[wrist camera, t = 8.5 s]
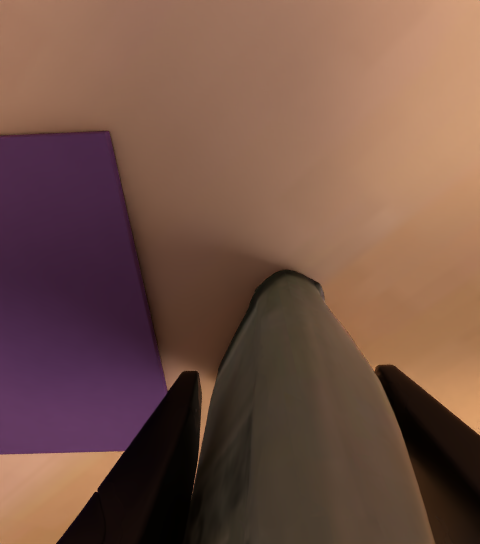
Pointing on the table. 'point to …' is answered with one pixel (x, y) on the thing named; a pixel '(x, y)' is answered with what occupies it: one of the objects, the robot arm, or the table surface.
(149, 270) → the table surface
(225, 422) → the grey rounded block
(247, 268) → the table surface
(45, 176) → the felt cloth
